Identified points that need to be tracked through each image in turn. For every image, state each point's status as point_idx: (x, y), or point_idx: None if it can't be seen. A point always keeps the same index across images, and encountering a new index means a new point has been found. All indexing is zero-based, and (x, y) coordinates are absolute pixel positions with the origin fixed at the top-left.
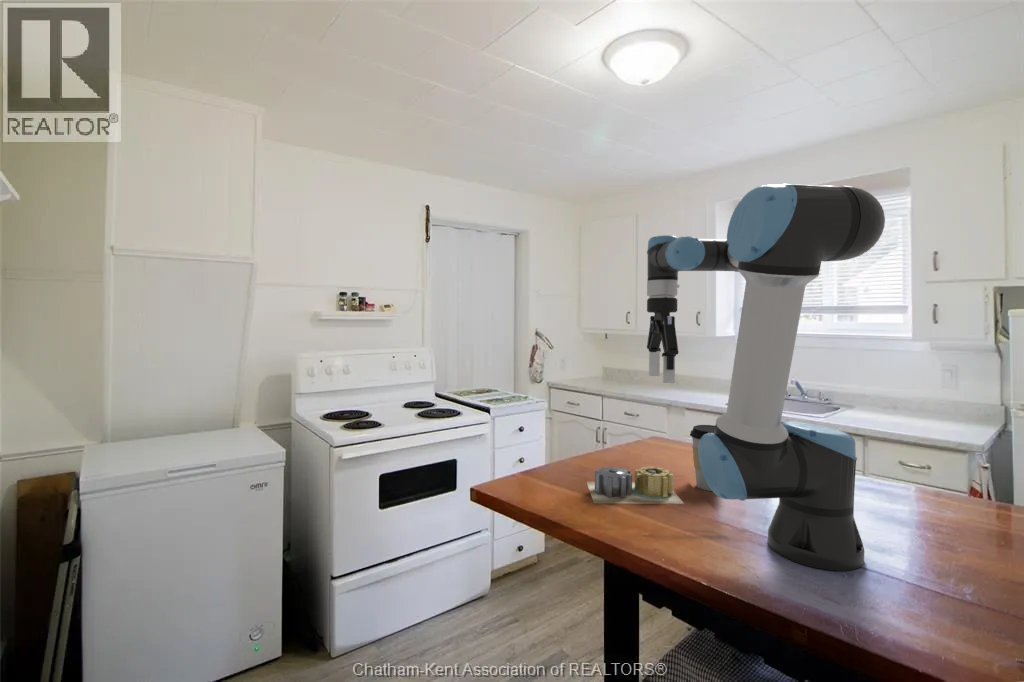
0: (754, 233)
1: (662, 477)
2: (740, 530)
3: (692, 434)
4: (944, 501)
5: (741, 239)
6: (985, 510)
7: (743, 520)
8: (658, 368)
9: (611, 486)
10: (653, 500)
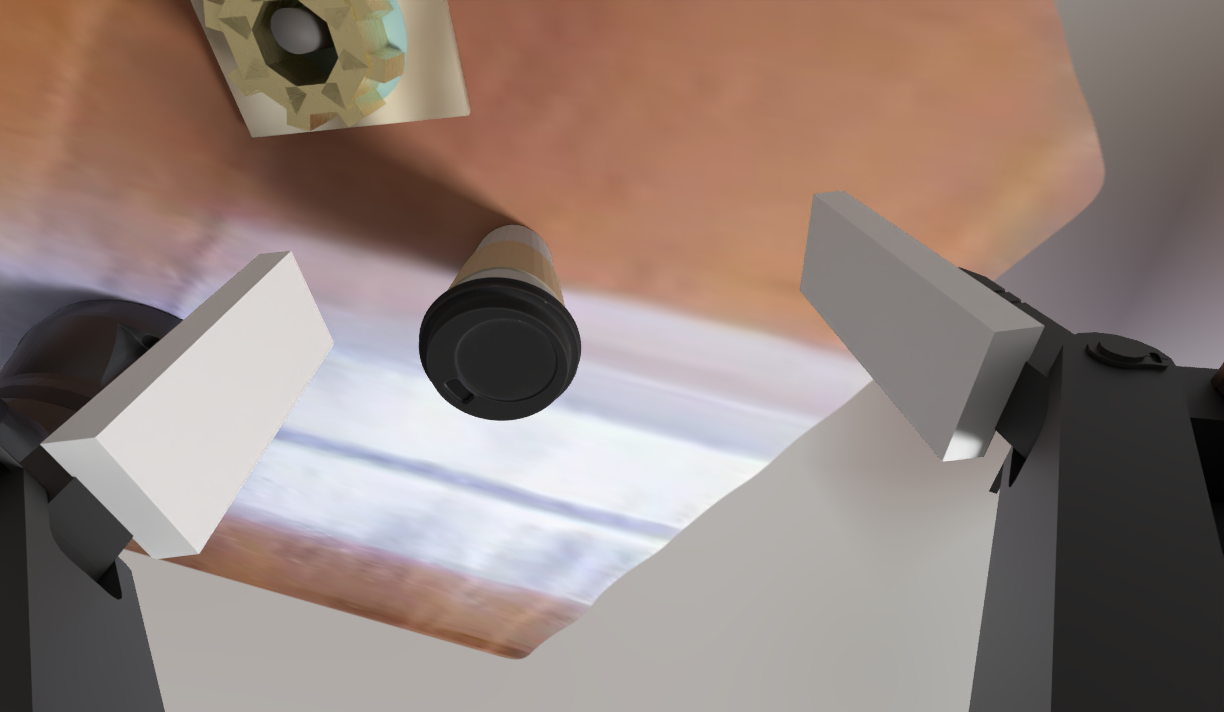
0: None
1: (235, 72)
2: (181, 260)
3: (472, 286)
4: (523, 612)
5: None
6: (493, 634)
7: None
8: (833, 318)
9: None
10: None
